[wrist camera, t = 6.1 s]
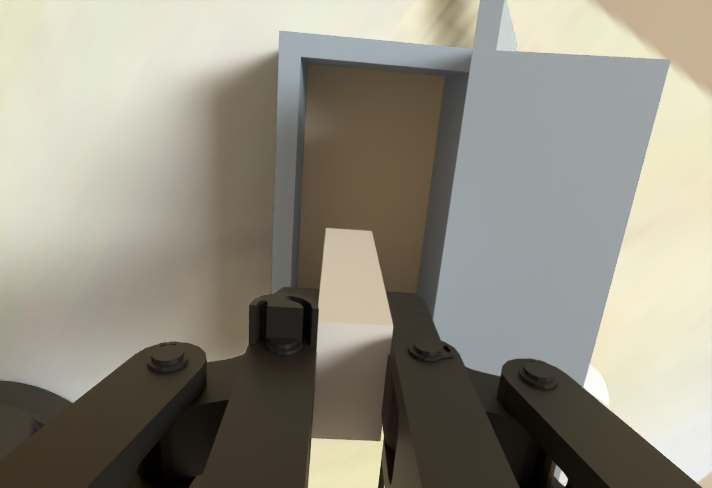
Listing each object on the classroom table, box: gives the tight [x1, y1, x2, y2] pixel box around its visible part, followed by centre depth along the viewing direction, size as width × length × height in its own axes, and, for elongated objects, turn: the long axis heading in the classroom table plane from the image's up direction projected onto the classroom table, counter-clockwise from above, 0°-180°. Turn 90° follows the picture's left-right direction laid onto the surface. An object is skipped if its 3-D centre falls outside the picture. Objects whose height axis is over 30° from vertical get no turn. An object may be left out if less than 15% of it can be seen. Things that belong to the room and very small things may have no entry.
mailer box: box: [271, 31, 473, 321], centre depth 27 cm, size 10×16×7 cm, turn 175°
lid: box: [433, 0, 670, 481], centre depth 19 cm, size 10×17×5 cm
